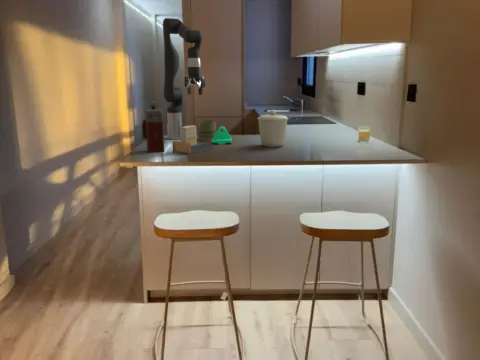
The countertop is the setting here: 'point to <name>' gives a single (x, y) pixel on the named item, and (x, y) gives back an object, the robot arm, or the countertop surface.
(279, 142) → the canister
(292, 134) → the countertop surface
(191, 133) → the supplement box
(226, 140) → the camera mount
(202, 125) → the piston
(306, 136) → the countertop surface
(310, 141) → the countertop surface
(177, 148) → the rail
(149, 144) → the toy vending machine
